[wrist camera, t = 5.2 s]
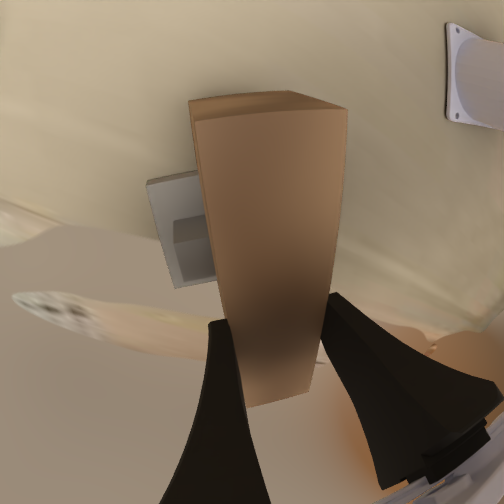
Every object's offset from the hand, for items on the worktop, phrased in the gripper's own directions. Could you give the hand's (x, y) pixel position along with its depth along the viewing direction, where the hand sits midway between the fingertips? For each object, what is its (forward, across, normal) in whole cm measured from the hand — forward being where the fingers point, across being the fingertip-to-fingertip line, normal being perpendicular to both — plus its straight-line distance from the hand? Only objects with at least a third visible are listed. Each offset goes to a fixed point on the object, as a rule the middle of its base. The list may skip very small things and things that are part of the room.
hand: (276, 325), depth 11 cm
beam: (+4, 0, -1) cm, 4 cm away
